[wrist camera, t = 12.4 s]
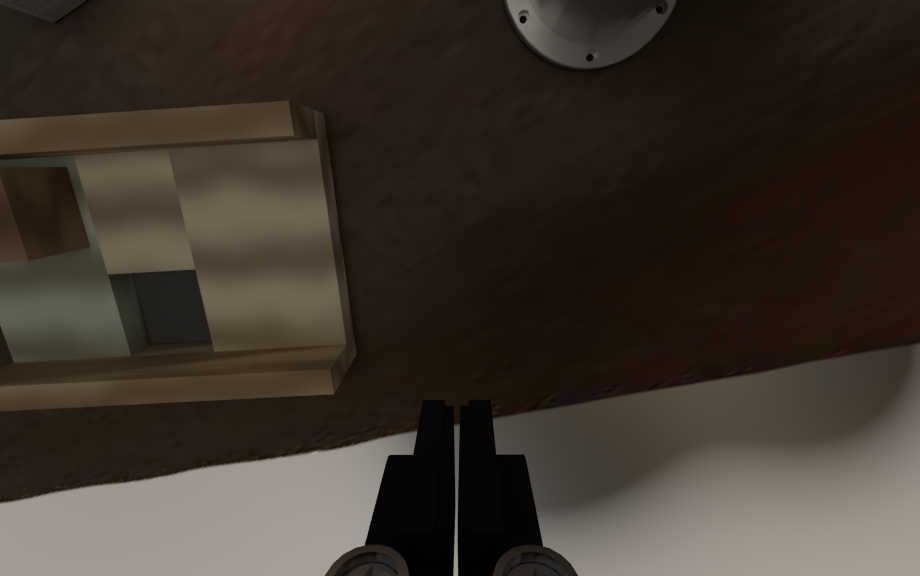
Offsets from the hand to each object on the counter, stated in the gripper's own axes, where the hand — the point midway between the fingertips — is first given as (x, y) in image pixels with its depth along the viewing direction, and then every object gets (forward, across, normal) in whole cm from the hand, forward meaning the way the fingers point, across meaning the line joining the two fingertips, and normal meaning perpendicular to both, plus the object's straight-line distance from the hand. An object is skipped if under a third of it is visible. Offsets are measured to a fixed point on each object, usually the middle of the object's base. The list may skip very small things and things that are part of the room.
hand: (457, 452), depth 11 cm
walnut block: (+24, +32, -4) cm, 40 cm away
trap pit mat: (+26, +24, +5) cm, 36 cm away
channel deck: (+26, +24, 0) cm, 36 cm away
